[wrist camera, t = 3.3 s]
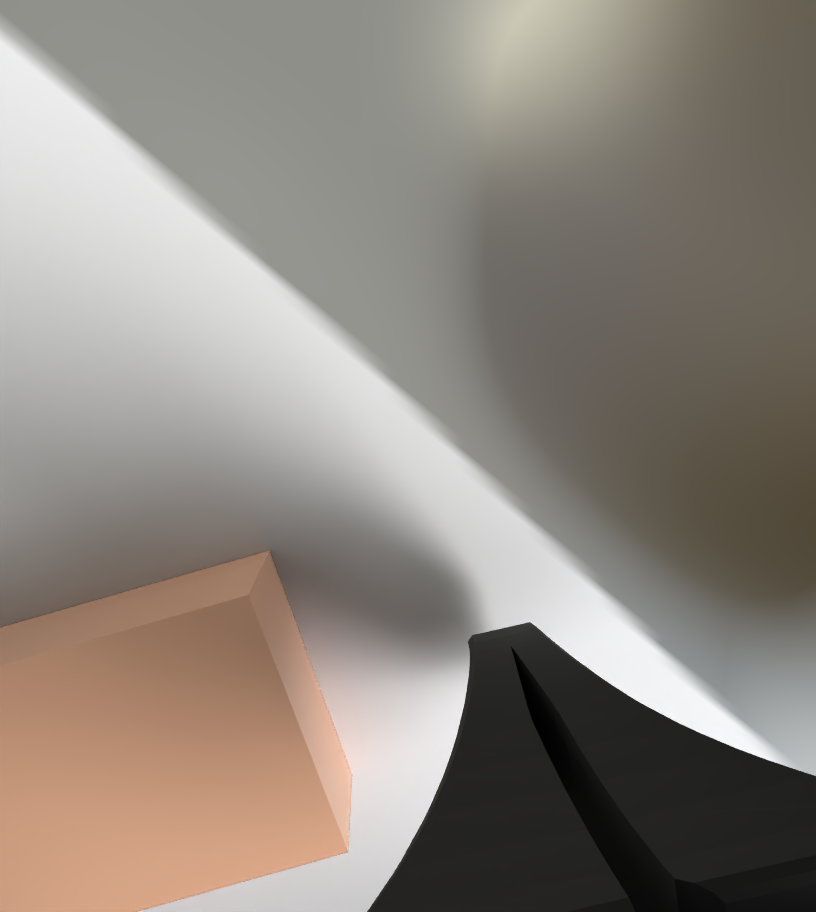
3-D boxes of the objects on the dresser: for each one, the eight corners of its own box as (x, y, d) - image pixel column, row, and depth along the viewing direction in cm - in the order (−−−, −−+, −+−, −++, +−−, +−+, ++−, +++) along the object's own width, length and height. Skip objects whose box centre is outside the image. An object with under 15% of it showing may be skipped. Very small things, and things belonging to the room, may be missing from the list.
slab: (272, 543, 12) (248, 594, 10) (353, 761, 14) (348, 852, 11) (-74, 642, 12) (-179, 717, 10) (41, 849, 14) (-27, 957, 11)
